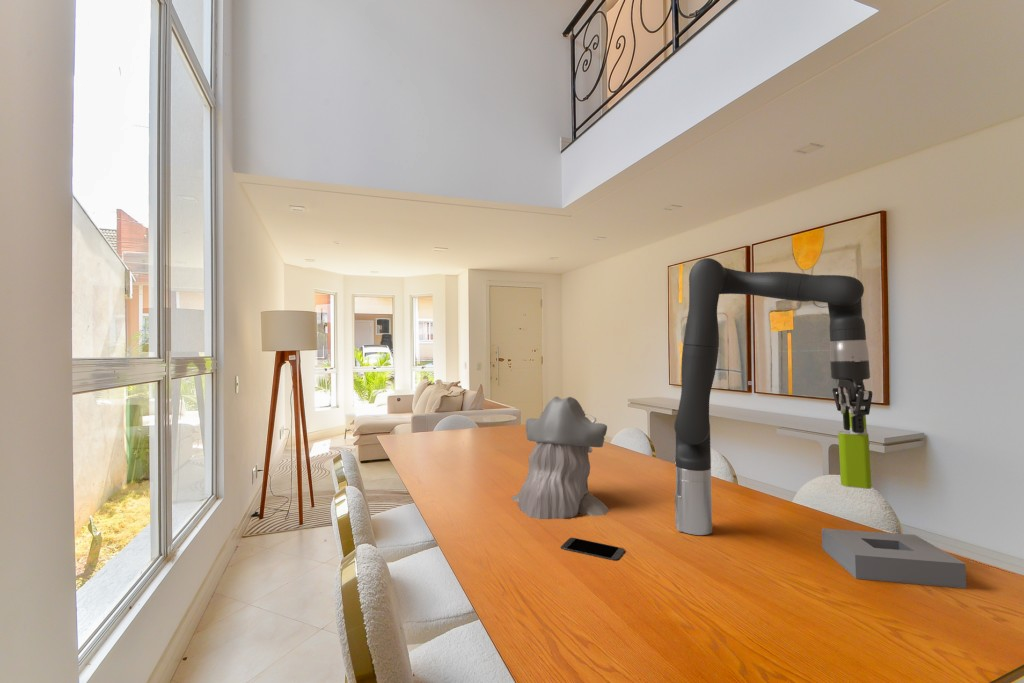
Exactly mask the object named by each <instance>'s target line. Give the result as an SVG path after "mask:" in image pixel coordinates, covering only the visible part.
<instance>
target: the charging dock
mask: <svg viewBox="0 0 1024 683" xmlns="http://www.w3.org/2000/svg"><path fill="white" fill-rule="evenodd" d="M821 547H822V550H823V551H824V552H826V553H827V554H828V556H830V557H831V558H832V559H833V560H834V561H836V562H837V563H838V564H839V565H840V566H841V567H842V568H844V569H845V571H847V572H848V573H849V574H850V575H852V576H851V577H853V578H855V579H856V580H869V581H879V582H888V583H889V582H890V583H901V584H911V585H912V584H914V585H923V586H924V585H925V586H936V587H944V588H945V587H946V588H955V589H958V588H959V589H967V570H966V563H965V562H963V561H962V560H960V559H958V558H957V557H954V556H953V555H951V554H949V553H948V552H946V551H944V550H943V549H940V548H939V547H937V546H935V545H934V544H931V543H930V542H928V541H927V540H925V539H923V538H921V537H919V536H918V535H916V534H909V533H893V532H879V531H868V530H867V531H864V530H854V529H853V530H852V529H851V530H850V529H838V528H836V529H835V528H821Z"/></svg>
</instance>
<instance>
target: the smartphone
mask: <svg viewBox="0 0 1024 683" xmlns="http://www.w3.org/2000/svg"><path fill="white" fill-rule="evenodd" d="M560 549H561V550H564V551H569V552H572V553H577V554H581V555H587V556H590V557H591V556H592V557H595V558H600V559H605V560H609V561H613V562H617V561H618V562H619V561H620V560H621V558H622V557H623V556H624V555H625V553H626V549H625V548H624V547H621V546H620V547H619V546H615V545H611V544H606V543H602V542H601V543H600V542H596V541H591V540H587V539H581V538H577V537H570V538H568V539H567V540H566V541H565V542H564V543H563V544H562V545H561V546H560Z"/></svg>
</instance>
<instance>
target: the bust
mask: <svg viewBox="0 0 1024 683" xmlns="http://www.w3.org/2000/svg"><path fill="white" fill-rule="evenodd" d="M585 411H586V409H583V407H582V405H581V404H580V402H579V401H578V400H577V399H576V398H575V397H572V396H568V397H566V398H560V397H559V396H554V397H552V398H551V400H549V402H547V404H546V405H545V408H544V409H543V411H542V412H541V414H540V416H539V418H534V417H532V418H531V417H530V418H527V419H526V420H525V431H526V432H525V433H526V439H527V441H530V442H535V445H534V447H533V450H532V451H531V453H530V454H529V457H528V472H527V476H526V478H525V480H524V482H523V484H522V486H520V490H519V493H517V494H515V495H513V496H512V497H511V499H512V501H513V502H518V508H519V511H521V512H522V513H524V514H525V516H528V517H529V518H534V519H537V520H551V519H553V520H557V519H561V520H565V519H573V518H575V517H576V516H577V515H578V514H579V515H580V514H581V515H586V516H591V517H596V516H605V515H606V514H607V513H609V512H610V511H611V510H610V509H609V508H608V507H607V505H606V504H605V503H604V502H603V501H602V500H601V499H599V498H597V497H596V496H594V495H593V494H592V493H591V492H590V490H589V484H588V478H589V476H590V473H591V464H590V463H591V462H590V458H589V453H590V454H591V453H593V448H603V447H604V443H605V436H606V435H607V430H608V425H607V424H605V423H602V422H601V423H599V422H597V417H595V416H593V415H592V414H588V413H585ZM586 416H591V417H592V418H593V420H590V419H589V417H586ZM596 422H597V423H596Z"/></svg>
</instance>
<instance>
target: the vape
mask: <svg viewBox="0 0 1024 683" xmlns="http://www.w3.org/2000/svg"><path fill="white" fill-rule="evenodd" d="M853 403H856V402H853ZM849 417H850V430H849V431H844V430H843V431H842V430H841V431H840V430H839V431H838V432H837V437H838V452H839V471H840V472H839V474H840V485H841V486H842V487H846V488H855V489H864V490H869V489H872V488H873V487H872V473H871V472H872V471H871V456H870V454H871V453H870V439H869V433H868V428H867V416H866V415H865V417H863V421H864V432H863V433H855V432H853V431H852V422H851V417H852V416H851V411H850V409H849Z"/></svg>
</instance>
